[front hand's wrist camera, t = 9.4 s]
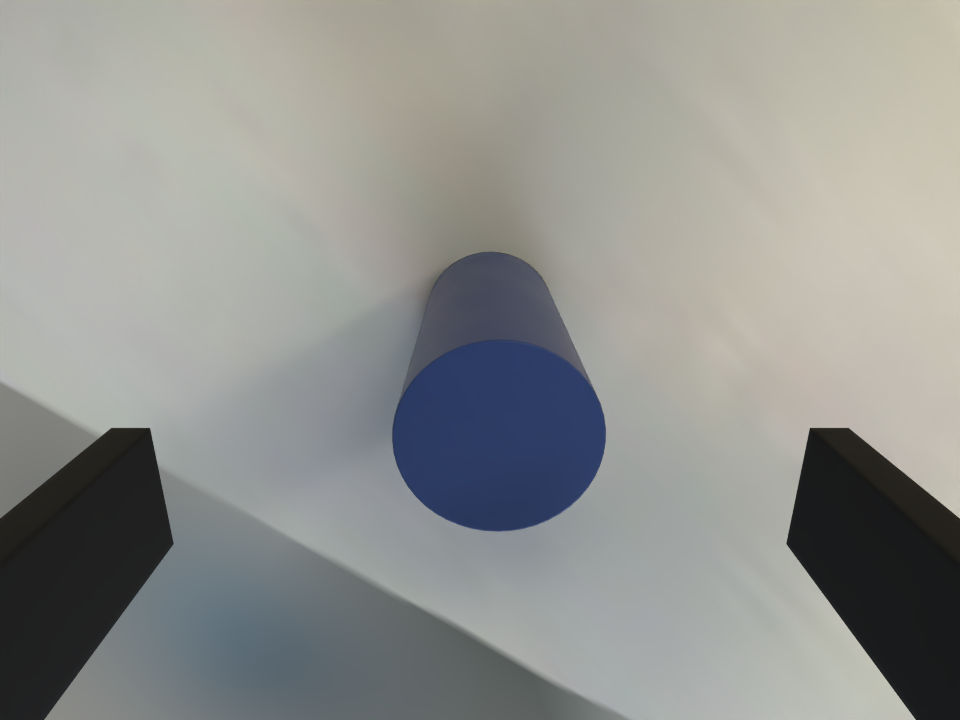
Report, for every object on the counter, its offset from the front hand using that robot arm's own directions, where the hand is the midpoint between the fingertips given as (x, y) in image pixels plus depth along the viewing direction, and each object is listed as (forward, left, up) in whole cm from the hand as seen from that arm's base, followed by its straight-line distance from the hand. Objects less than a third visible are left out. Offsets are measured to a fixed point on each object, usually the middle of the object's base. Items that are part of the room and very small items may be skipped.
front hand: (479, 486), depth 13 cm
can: (0, +1, -17) cm, 17 cm away
